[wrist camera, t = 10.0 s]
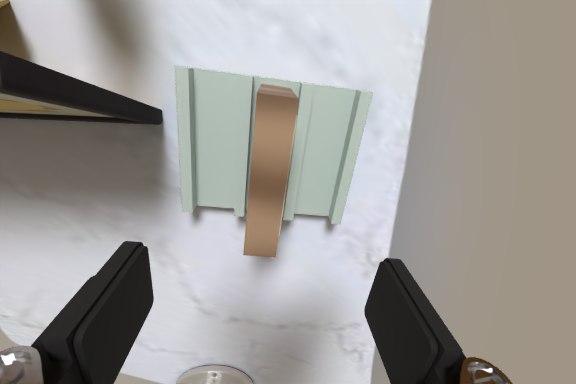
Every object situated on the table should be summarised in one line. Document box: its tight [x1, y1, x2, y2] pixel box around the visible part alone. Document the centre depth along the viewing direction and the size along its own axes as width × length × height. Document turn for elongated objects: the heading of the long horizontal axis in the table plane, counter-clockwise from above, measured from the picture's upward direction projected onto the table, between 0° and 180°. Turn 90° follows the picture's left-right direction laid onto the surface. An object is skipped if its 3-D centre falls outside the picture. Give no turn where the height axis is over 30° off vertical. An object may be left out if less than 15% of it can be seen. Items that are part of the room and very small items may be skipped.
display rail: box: [175, 66, 373, 224], centre depth 25 cm, size 13×17×3 cm
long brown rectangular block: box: [243, 84, 299, 257], centre depth 22 cm, size 12×3×8 cm, turn 172°
